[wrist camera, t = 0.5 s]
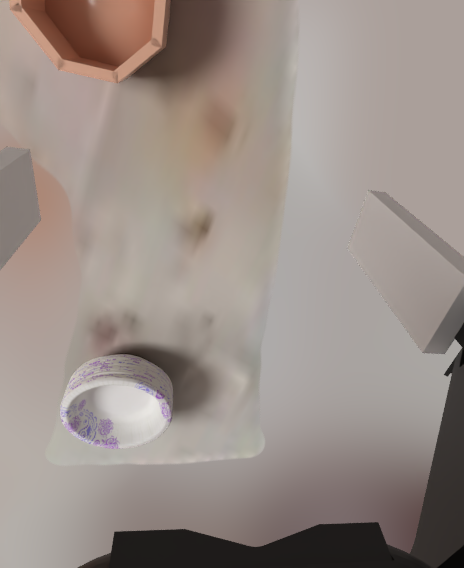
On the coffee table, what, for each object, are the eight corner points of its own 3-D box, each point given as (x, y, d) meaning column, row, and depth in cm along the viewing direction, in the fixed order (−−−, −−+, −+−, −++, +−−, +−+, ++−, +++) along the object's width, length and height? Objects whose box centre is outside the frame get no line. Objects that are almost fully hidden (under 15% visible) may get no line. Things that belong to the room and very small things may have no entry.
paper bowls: (194, 369, 57) (194, 412, 51) (137, 418, 63) (130, 461, 56) (111, 322, 51) (98, 363, 44) (55, 380, 56) (37, 425, 50)
